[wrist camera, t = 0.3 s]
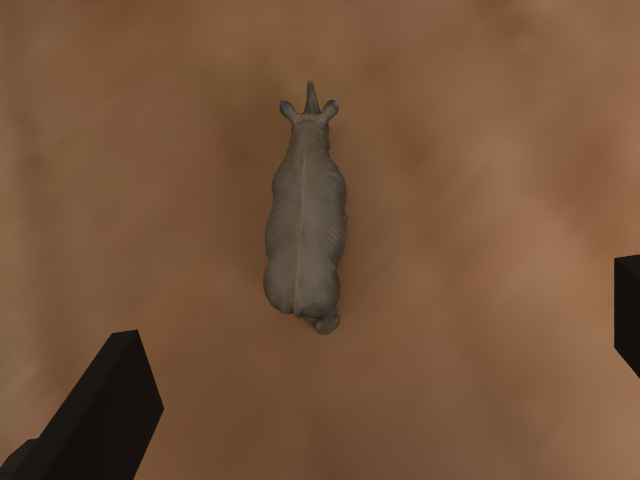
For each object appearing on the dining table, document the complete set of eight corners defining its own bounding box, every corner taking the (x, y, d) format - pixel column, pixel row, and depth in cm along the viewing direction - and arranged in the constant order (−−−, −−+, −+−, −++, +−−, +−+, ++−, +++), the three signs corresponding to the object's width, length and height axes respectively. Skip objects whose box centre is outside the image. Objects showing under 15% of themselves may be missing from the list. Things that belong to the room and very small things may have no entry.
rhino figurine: (355, 104, 35) (346, 49, 29) (348, 335, 32) (337, 326, 26) (288, 105, 35) (266, 52, 30) (275, 333, 32) (247, 323, 27)
